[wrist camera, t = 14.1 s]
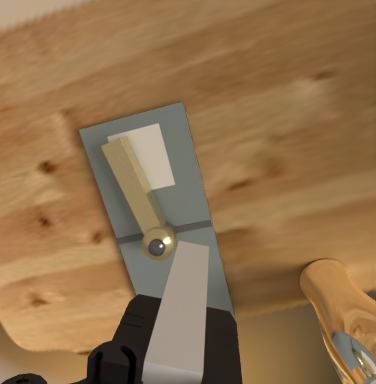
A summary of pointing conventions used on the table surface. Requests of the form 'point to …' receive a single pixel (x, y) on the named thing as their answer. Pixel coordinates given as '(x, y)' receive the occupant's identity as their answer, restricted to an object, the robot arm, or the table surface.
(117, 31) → the table surface
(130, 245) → the door board
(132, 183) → the latch bar
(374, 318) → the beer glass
